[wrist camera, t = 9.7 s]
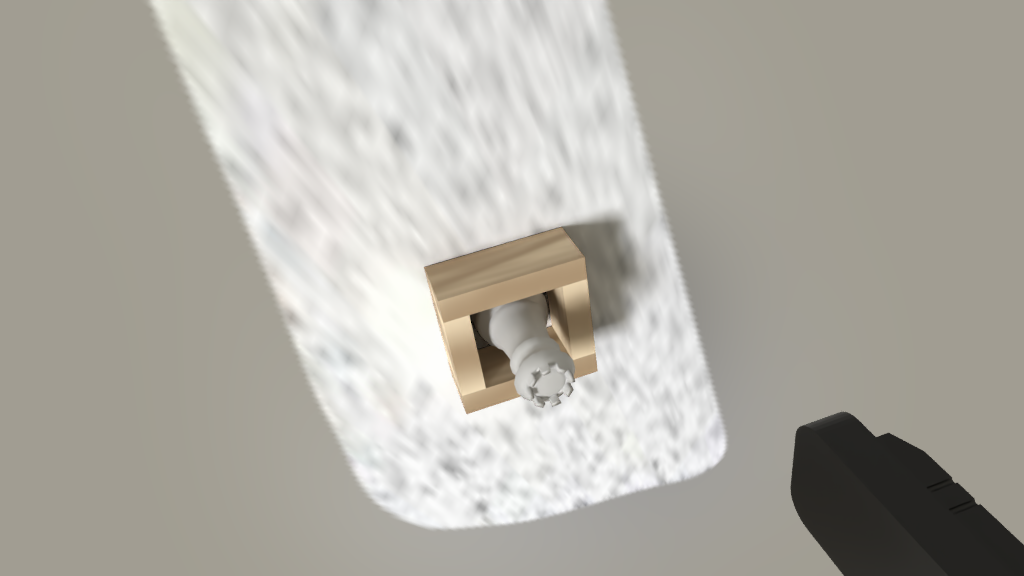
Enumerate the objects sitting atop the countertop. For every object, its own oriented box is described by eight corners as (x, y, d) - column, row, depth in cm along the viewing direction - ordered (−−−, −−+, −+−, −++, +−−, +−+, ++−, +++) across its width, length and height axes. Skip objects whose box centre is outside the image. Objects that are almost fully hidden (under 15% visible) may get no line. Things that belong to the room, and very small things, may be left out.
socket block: (424, 267, 41) (437, 301, 38) (561, 227, 42) (584, 257, 40) (452, 376, 46) (466, 414, 43) (575, 337, 47) (597, 371, 44)
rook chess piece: (556, 290, 45) (610, 372, 38) (509, 345, 46) (553, 434, 39) (501, 256, 42) (548, 337, 36) (452, 315, 43) (490, 403, 37)
